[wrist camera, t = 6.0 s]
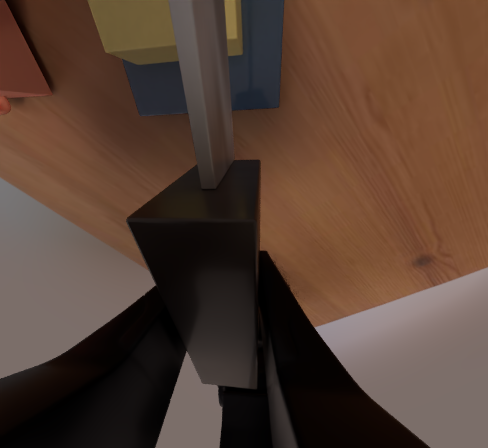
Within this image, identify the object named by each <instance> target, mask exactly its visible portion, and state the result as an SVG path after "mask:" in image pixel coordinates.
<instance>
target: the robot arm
mask: <svg viewBox="0 0 488 448" xmlns="http://www.w3.org/2000/svg"><path fill="white" fill-rule="evenodd" d="M186 351H187V350H186V348H185V345H184V343H183V341H182V339H181V337H180V335H179V333H178V331H177V328H176V326H175V324H174V322H173V320H172V318H171V316H170V314H169V311H168V309H167V307H166V305H165V303H164V301H163V299H162V297H161V295H160V292H159V290H158V288H157V286H154V287H153V288H152V289H151V290H150V291H149V292H147V293H146V294H145V296H142V297H141V298H140V299H138V300H137V301H136V302H135V303H133V304H132V305H131V306H129V307H128V308H127V309H126V310H124V311H123V312H122V313H120V314H119V315H117V316H116V317H115V318H113V319H112V320H111V321H110V322H108V323H106V324H105V325H104V326H102V327H101V328H99V329H98V330H96V331H95V332H94V333H92V334H91V335H89V336H88V337H87V338H85V339H84V340H82V341H81V342H79V343H78V344H77V345H75V346H74V347H72V348H71V349H69V350H68V351H66V352H65V353H63V354H61V355H60V356H58V357H56V358H54V359H52V360H50V361H48V362H45V363H43V364H40V365H38V366H35V367H32V368H29V369H26V370H24V371H21V372H18V373H15V374H12V375H10V376H7V377H4V378H1V379H0V448H155V447H156V444H157V441H158V437H159V434H160V431H161V428H162V425H163V422H164V419H165V416H166V412H167V410H168V407H169V404H170V399H171V397H172V394H173V391H174V387H175V384H176V382H177V378H178V376H179V373H180V369H181V366H182V363H183V360H184V357H185V354H186ZM217 386H218V388H219V390H218V392H219V393H218V395H219V403H220V406H221V407H223V408H222V428H221V438H220V448H430V447H429V446H428V445H427V444H425V443H424V442H423V441H422V440H421V439H419V438H418V437H417V436H416V435H415V434H413V433H412V432H411V431H410V430H409V429H407V428H406V427H405V426H404V425H402V424H401V423H400V422H399V421H398V420H397V419H395V418H394V417H393V416H391V415H390V414H389V413H388V412H387V411H386V410H384V409H383V408H382V407H381V406H380V405H378V404H377V403H376V402H375V401H374V400H373V399H371V398H370V397H369V396H368V395H367V394H366V393H365V392H364V391H363V390H362V389H361V388H360V387H359V385H358V384H357V383H356V382H355V381H354V380H353V378H352V377H351V376H350V375H349V373H348V372H347V371H346V369H345V368H344V367H343V365H342V364H341V363H340V362H339V360H338V359H337V357H336V356H335V355H334V354H333V352H332V351H331V350H330V348H329V347H328V346H327V344H326V343H325V342H324V340H323V339H322V338H321V337H320V335H319V334H318V332H317V331H316V329H315V328H314V327H313V325H312V324H311V322H310V321H309V319H308V318H307V316H306V315H305V313H304V311H303V310H302V308H301V307H300V305H298V302H297V300H296V298H295V297H294V295H293V293H292V292H291V290H290V287H289V286H288V285H287V284H286V282H285V280H284V279H283V277H282V275H281V274H280V272H279V270H278V269H277V267H276V265H275V264H274V262H273V261H272V259H271V257H270V256H269V254H268V252H267V251H260V253H259V329H258V376H257V389H248V388H239V387H230V386H221V385H217Z"/></svg>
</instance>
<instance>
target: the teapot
mask: <svg viewBox="0 0 488 448" xmlns="http://www.w3.org/2000/svg"><path fill="white" fill-rule="evenodd" d="M48 95H53V94H52V92H51V90H50V88H49V86H48V84H47V82H46V80H45V78H44V76H43V74H42V72H41V70H40V69H39V67H38V65H37V63H36V61H35V59H34V57H33V55H32V53H31V51H30V49H29V47H28V45H27V43H26V41H25V39H24V37H23V35H22V33H21V31H20V29H19V27H18V25H17V23H16V21H15V19H14V17H13V15H12V13H11V11H10V9H9V7H8V5H7V3H6V1H5V0H0V115H3V114H7V113H9V112H10V110H11V106H10V103H9V101H8V99H7V98H18V97H33V96H48Z"/></svg>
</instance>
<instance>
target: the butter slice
mask: <svg viewBox="0 0 488 448" xmlns="http://www.w3.org/2000/svg"><path fill="white" fill-rule="evenodd" d="M224 2H225V17H226V33H227V48H228V56H235V55H242V54H243V42H242V17H241V0H224Z"/></svg>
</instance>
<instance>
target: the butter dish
mask: <svg viewBox="0 0 488 448" xmlns="http://www.w3.org/2000/svg"><path fill="white" fill-rule="evenodd" d="M283 15H284V0H241V17H242V42H243V54H242V55H235V56H228V63H229V79H230V94H231V109H232V111H238V110H254V109H269V108H279V99H280V78H281V57H282V36H283ZM122 61H123V64H124V68H125V71H126V74H127V77H128V80H129V83H130V87H131V90H132V93H133V96H134V99H135V102H136V106H137V109H138V112H139V115H140V116H158V115H174V114H188V109H187V103H186V98H185V92H184V87H183V81H182V75H181V70H180V64H179V61H174V62H163V63H153V64H143V65H137V64H134V63H132V62H129V61H127V60H124V59H122Z"/></svg>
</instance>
